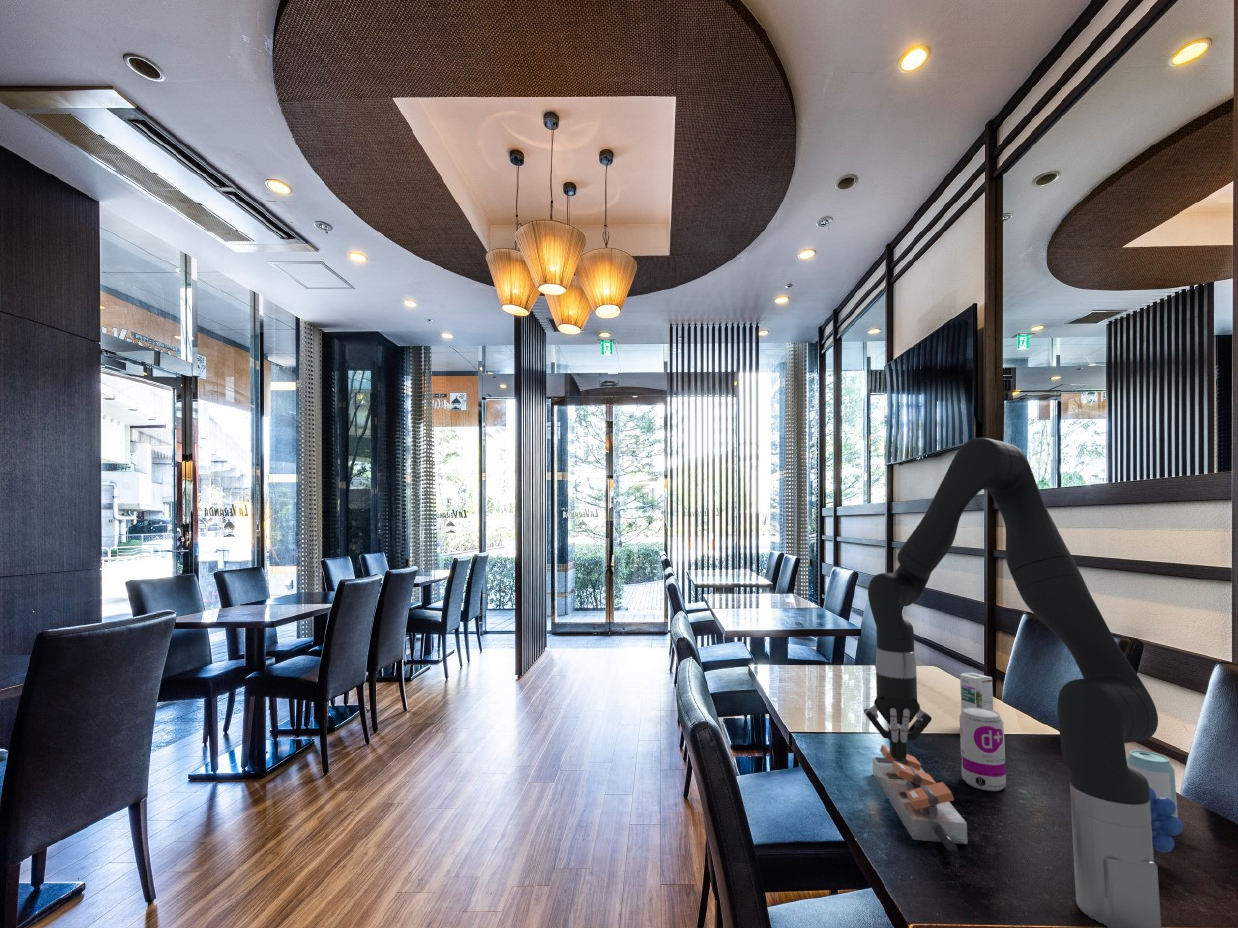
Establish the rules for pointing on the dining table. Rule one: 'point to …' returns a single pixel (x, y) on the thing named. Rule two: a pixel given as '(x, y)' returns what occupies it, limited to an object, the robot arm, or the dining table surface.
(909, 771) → the rocker
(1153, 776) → the can
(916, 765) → the rocker
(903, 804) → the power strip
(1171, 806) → the grapes
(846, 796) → the dining table surface
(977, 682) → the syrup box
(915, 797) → the block
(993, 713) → the supplement can
